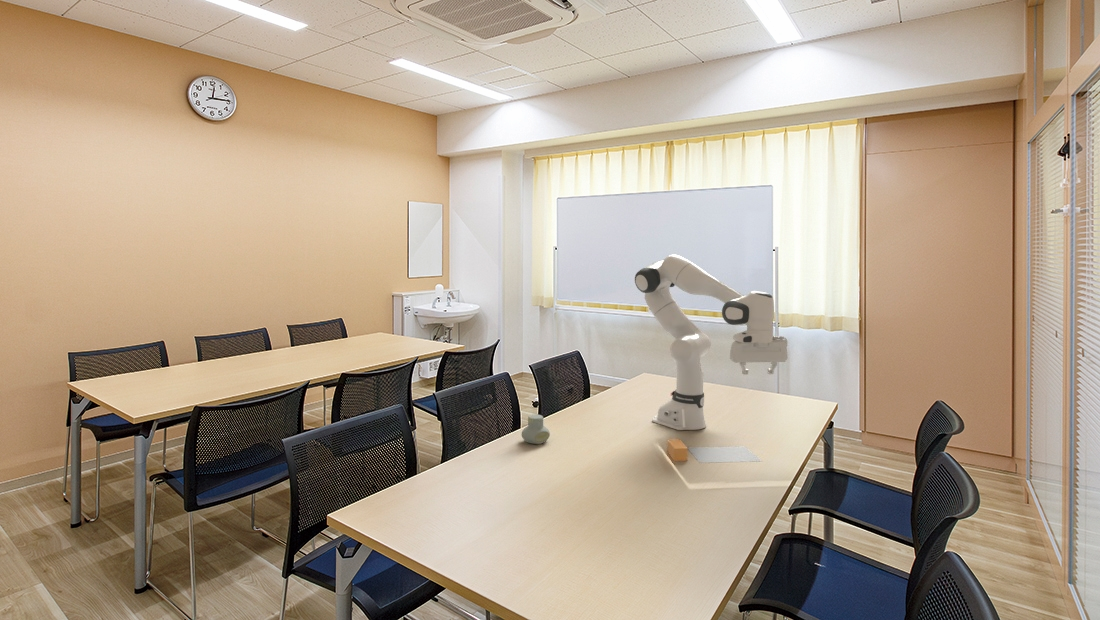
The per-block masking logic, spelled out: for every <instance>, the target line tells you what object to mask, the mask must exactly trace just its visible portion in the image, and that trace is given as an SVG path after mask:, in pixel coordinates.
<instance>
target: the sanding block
mask: <svg viewBox="0 0 1100 620" xmlns="http://www.w3.org/2000/svg"><path fill="white" fill-rule="evenodd" d="M666 440H667V441H666V442H667V443H666V452H667V453H668V454H666V455H667V457H668V459H669V460H670V461H671V463H672V464H673V465H674V466H675V463H674V462H677V461H679V462H680V461H684V462H685V461H688V449H687V448H688V447H687V445H686V444H684V442H683V441H682V440H681V439H680V438H672V439H666ZM670 457H671V458H670ZM672 460H673V461H674V462H673V461H672Z"/></svg>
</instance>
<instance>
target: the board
mask: <svg viewBox="0 0 1100 620" xmlns="http://www.w3.org/2000/svg"><path fill="white" fill-rule="evenodd" d="M687 451H689V452H690V453H691V455H692V456H693V457H694V458H695V459H696V461H697V462H698V463H699V464H700V463H701V464H704V463H705V464H706V463H708V464H710V463H714V464H715V463H746V462H747V463H751V462H762V460H761V459H760V458H759V457H758V456H757V455H755V453H754V452H752V451H751V450H750V449H749V448H748V447H746V446H744V445H742V446H741V445H740V446H707V447H705V446H704V447H703V446H701V447H699V446H698V447H695V446H694V447H687Z"/></svg>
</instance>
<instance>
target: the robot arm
mask: <svg viewBox="0 0 1100 620" xmlns="http://www.w3.org/2000/svg"><path fill="white" fill-rule="evenodd" d="M634 283H635V286H636V288H637V290H639V291H640V292H641V293H643V294H644V300H645V303H646V304H647V307H648V309H649V311H650V312H651V314H652V315H653V316H654V318H655V320H656V321H657V322H658V324H659V326H660V327H661V328H662V331H664V333H666V334H668V335H670V336H671V337H672V338H673V339H674V341H673V342H672V343H671V345H670V350H669V351H670V352H669V353H670V354H671V357H672V359H673V361H674V365H675V371H676V372H675V373H676V380H675V381H676V382H675V383H676V384H675V385H676V387H675V389H674V390H673V391H672V392H670V396H672V397H671V398H670V399H669V400H667V401H666V402H664V403H663V404H661V405H660V406H659V408H658V411H657V414H655V415H654V416H652V419H651V422H653V423H655V424H659V425H661V426H664V427H667V428H671V429H674V430H677V431H685V430H686V431H687V430H689V431H694V430H695V431H696V430H702V429H704V428H706V427H707V424H706V420H705V414H704V406H705V393H704V382H705V381H704V378H705V375H704V372H703V371H702V366H701V357H704V356H706V355H707V353H709V351H710V349H711V345H712V342H711V339H710V337H709V336H708V335H707V334H706V333H704V332H703V331H701V329H699V327H697V325H695V324H694V322H692V320H691V319H689V318H688V316H687V315H686V314H685V313H684V311H683V310H682V308H681V306H680V305H679V304H678V303H677V301H676V300H675V298H674V297H673V296H672V294H671V291H670V288H674V287H675V286H676V287H677V288H678V289H680V290H682V291H684V292H685V293H687V294H690V295H693V296H705V297H707V296H708V297H712V298H715V299H717V300H719V301H720V302H722V303H724V305H723V306H722V309H721V315H722V319H723V320H724V321H725V323H726V324H728V325H732V326H742V325H745V326H746V330H744V331H741V332H738V333H735V334H733V336H732V339H733V341H732V343H731V346H730V353H729V359H730V361H731V362H733V363H738V364H739V366H740V368H741V370H742V374H743V376H744V375H749V369H748V368H746V367H745V366H746V365H747V363H770V364H771V365H770V367H769V368H767V374H768V375H774V372H775V371H774V370H775V369H776V368H777V366H778V363H785V362H787V360H788V348H787V347H788V339H787V338H786V337H784V336H781V335H780V336H776V335H775V336H774V326H773V321H774V318H775V302H774V297H773V295H771V293H768V292H765V291H761V290H760V291H759V290H753V291H750V292H749V293H748V294H746V295H745V294H742V293H740V292H738V291H737V290H735V289H734V288H732V287H731V286H729V285H727V284H725V283H724V282H722V281H720V280H718V279H717V278H715V277H714V276H712V275H711V274H709V273H708V272H707V271H705V270H704V269H703V268H701V267H700V266H698V265H697V264H695V263H693V262H692V261H690V260H688V259H686V258H684V257H682V256H680V255H677V254H670V255H667V256H666V257H665V258H664V259H663V260H659V261H655V262H653V263H651V264H650V265H648V266H645V267H643V268H641V269H639V270H638V271H637V272H636V273H635V276H634Z"/></svg>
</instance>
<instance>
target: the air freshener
mask: <svg viewBox="0 0 1100 620" xmlns="http://www.w3.org/2000/svg"><path fill="white" fill-rule="evenodd" d="M550 436H551V432H550V429H549V428H548V427H546V426H544V416H543V415H541V414H530V415H528V418H527V426H525V427H524V428H523V429H522V431H521V437H522V439H523V440H524V441H525V442H527V443H529V444H534V445H541V444H543V443H545V442H546V441H547V440H549V439H550Z"/></svg>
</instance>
